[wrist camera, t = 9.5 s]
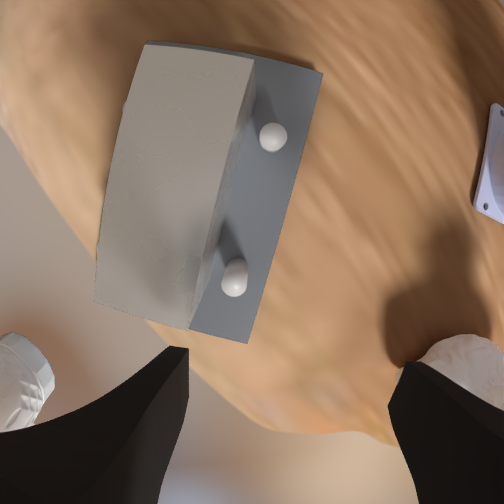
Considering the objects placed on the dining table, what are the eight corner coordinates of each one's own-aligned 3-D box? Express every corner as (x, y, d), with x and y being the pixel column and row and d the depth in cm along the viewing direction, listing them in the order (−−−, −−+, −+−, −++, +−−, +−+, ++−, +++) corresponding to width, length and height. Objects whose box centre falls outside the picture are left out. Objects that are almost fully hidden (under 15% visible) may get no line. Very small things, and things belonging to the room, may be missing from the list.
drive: (256, 98, 15) (254, 59, 9) (210, 278, 17) (187, 331, 11) (182, 83, 14) (144, 44, 9) (143, 259, 17) (94, 301, 11)
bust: (477, 353, 22) (574, 329, 12) (464, 432, 19) (564, 432, 9) (383, 328, 21) (501, 288, 11) (362, 427, 18) (482, 450, 8)
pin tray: (319, 78, 15) (333, 58, 12) (247, 335, 19) (245, 367, 16) (152, 46, 15) (131, 24, 11) (101, 293, 19) (75, 316, 15)
